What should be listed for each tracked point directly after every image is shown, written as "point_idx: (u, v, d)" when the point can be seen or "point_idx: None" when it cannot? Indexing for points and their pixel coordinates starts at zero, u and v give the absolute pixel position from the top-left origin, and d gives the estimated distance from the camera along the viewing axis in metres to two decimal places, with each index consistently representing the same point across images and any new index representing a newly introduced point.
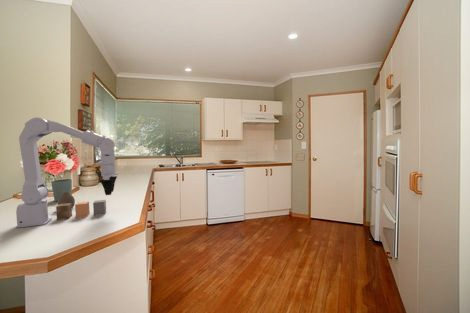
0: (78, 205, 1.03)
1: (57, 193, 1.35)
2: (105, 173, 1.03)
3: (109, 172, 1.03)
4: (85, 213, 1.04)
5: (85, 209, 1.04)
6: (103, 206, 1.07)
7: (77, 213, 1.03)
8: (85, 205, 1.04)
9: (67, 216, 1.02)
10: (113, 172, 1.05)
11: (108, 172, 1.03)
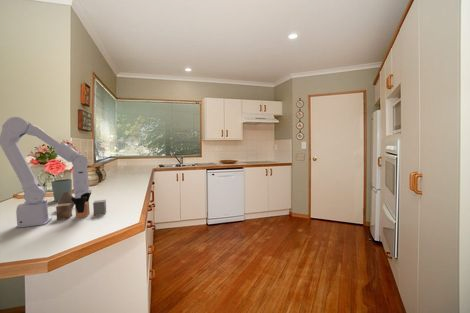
0: None
1: (57, 193, 1.35)
2: (77, 191, 1.02)
3: (81, 189, 1.03)
4: (85, 213, 1.04)
5: (85, 209, 1.04)
6: (103, 206, 1.07)
7: (77, 213, 1.03)
8: (85, 205, 1.04)
9: (67, 216, 1.02)
10: (86, 189, 1.04)
11: (80, 190, 1.03)
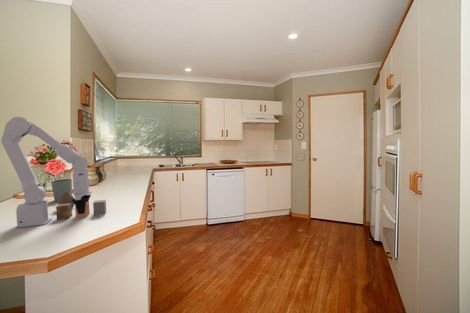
0: None
1: (57, 193, 1.35)
2: (77, 192, 1.02)
3: (81, 191, 1.03)
4: (85, 213, 1.04)
5: (85, 209, 1.04)
6: (103, 206, 1.07)
7: (77, 213, 1.03)
8: (85, 205, 1.04)
9: (67, 216, 1.02)
10: (86, 191, 1.04)
11: (80, 191, 1.03)
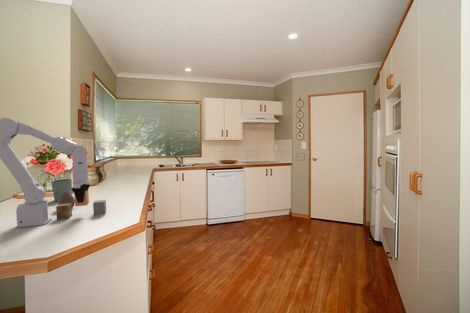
0: None
1: (57, 193, 1.35)
2: (76, 181, 1.02)
3: (81, 180, 1.03)
4: (84, 202, 1.04)
5: (84, 198, 1.04)
6: (103, 206, 1.07)
7: (76, 202, 1.03)
8: None
9: (67, 216, 1.02)
10: (85, 180, 1.04)
11: (80, 180, 1.02)
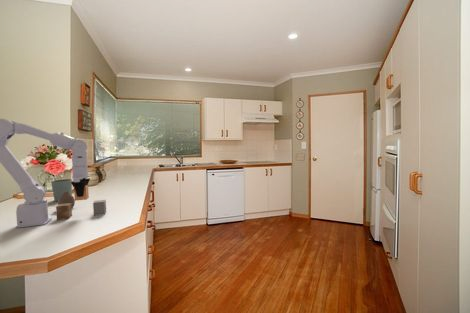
0: None
1: (57, 193, 1.35)
2: (76, 175, 1.02)
3: (80, 174, 1.03)
4: (84, 196, 1.04)
5: (84, 192, 1.04)
6: (103, 206, 1.07)
7: (76, 196, 1.03)
8: (84, 188, 1.04)
9: (67, 216, 1.02)
10: (85, 174, 1.04)
11: (79, 174, 1.02)
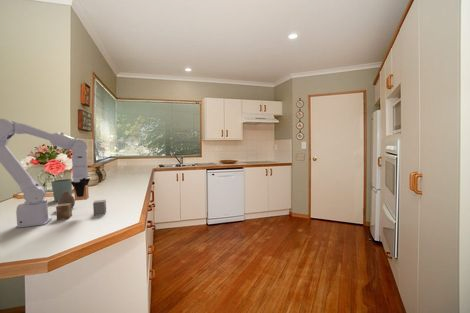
0: None
1: (57, 193, 1.35)
2: (76, 175, 1.02)
3: (80, 174, 1.03)
4: (84, 196, 1.04)
5: (84, 192, 1.04)
6: (103, 206, 1.07)
7: (76, 196, 1.03)
8: (84, 188, 1.04)
9: (67, 216, 1.02)
10: (85, 174, 1.04)
11: (79, 174, 1.02)
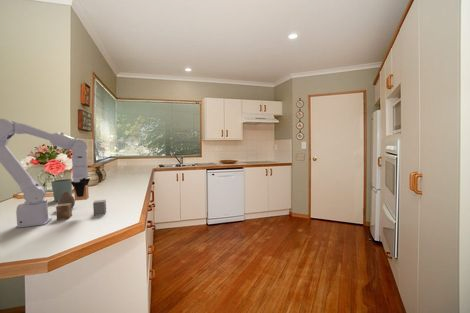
0: None
1: (57, 193, 1.35)
2: (76, 175, 1.02)
3: (80, 174, 1.03)
4: (84, 196, 1.04)
5: (84, 192, 1.04)
6: (103, 206, 1.07)
7: (76, 196, 1.03)
8: (84, 188, 1.04)
9: (67, 216, 1.02)
10: (85, 174, 1.04)
11: (79, 174, 1.02)
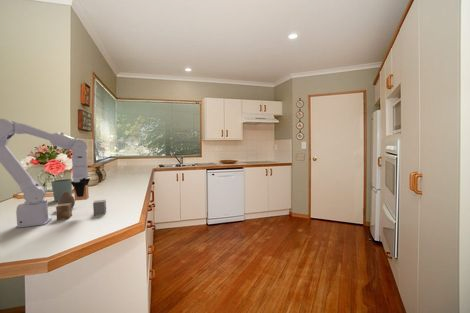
0: None
1: (57, 193, 1.35)
2: (76, 175, 1.02)
3: (80, 174, 1.03)
4: (84, 196, 1.04)
5: (84, 192, 1.04)
6: (103, 206, 1.07)
7: (76, 196, 1.03)
8: (84, 188, 1.04)
9: (67, 216, 1.02)
10: (85, 174, 1.04)
11: (79, 174, 1.02)
